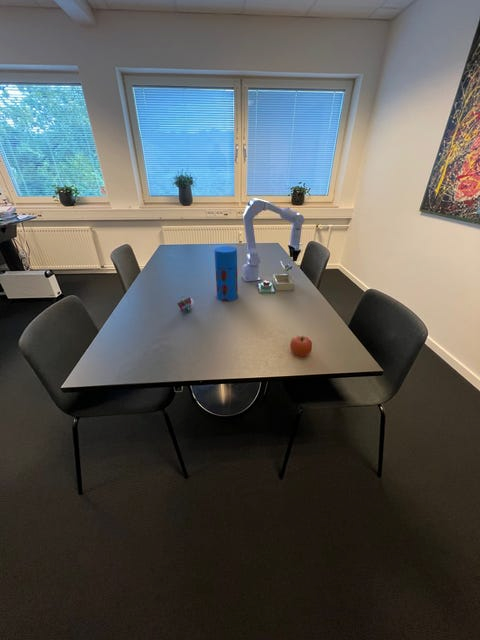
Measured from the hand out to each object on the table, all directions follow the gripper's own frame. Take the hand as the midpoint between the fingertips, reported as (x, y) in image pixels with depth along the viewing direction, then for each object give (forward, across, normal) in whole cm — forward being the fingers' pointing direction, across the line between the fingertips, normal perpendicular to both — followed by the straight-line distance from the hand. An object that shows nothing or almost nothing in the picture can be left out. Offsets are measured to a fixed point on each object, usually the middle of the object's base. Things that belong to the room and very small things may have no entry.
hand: (293, 259), depth 155 cm
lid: (+2, -15, +7) cm, 17 cm away
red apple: (+11, -76, +13) cm, 78 cm away
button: (+8, -19, +18) cm, 28 cm away
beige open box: (+10, -15, +8) cm, 20 cm away
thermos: (+11, -27, +40) cm, 50 cm away
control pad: (+10, -19, +18) cm, 28 cm away
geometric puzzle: (+7, -41, +60) cm, 73 cm away
